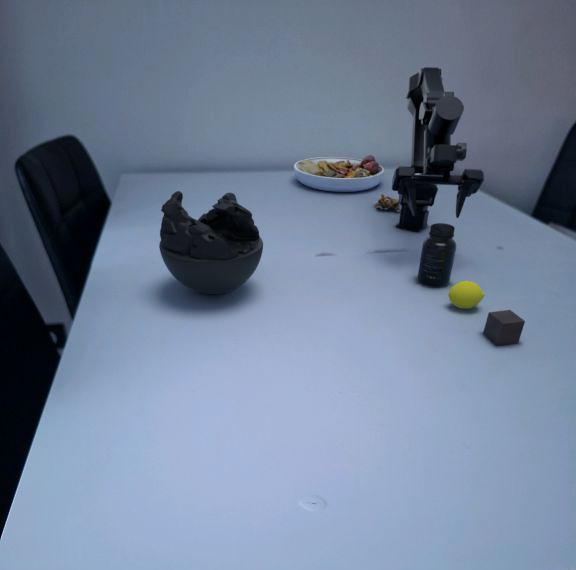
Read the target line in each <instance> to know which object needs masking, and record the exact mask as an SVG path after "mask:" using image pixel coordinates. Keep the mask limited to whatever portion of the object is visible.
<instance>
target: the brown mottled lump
mask: <svg viewBox="0 0 576 570" xmlns="http://www.w3.org/2000/svg"><path fill="white" fill-rule="evenodd" d="M380 197H381V198H380V199H378V200H377V202H376V203H375V208H379V209H381V210H388V209H395V212H396V213H399V214H400V212H401V209H400V208H399V206H400V203H399V199H397V198H393V197H391V196H385V194H383V193H381V195H380Z"/></svg>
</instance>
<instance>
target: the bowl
mask: <svg viewBox="0 0 576 570" xmlns="http://www.w3.org/2000/svg"><path fill="white" fill-rule="evenodd" d="M293 172H294V176H295V178H296V180H297V181H298V182H300V183H301V184H302V185H304V186H306V187H308V188H312V189H314V190H319V191H325V192H332V193H333V192H335V193H353V192H361V191H367V190H370V189H373V188H375V187H376V186H377V185H379V184H380V183H381V182H382V180H383V178H384V176H385V168H384V167H383V166H382V165H380V164H379V163H378V162H377V161H376V158H375V156H374V155H372V154H368V155H366V156H364V158H363V159H359V158H354V157H342V156H322V157H321V156H320V157H311V158H310V157H309V158H305V159H301V160H298V161H297V162H295V163H294V165H293Z"/></svg>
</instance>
